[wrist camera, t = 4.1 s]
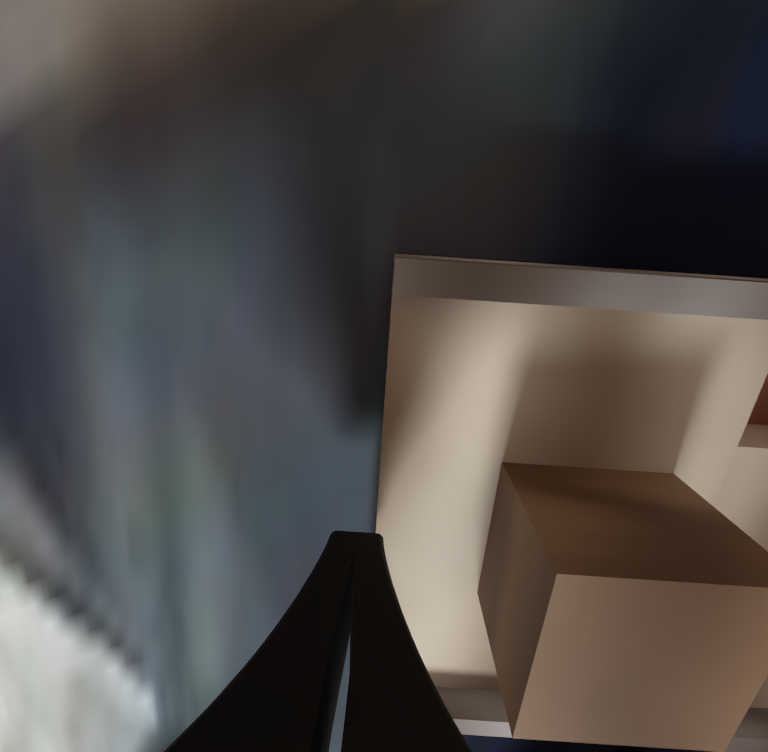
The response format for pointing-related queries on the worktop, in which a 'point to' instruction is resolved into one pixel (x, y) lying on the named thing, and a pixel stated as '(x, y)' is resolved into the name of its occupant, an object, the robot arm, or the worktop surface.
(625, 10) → the worktop surface
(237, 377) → the worktop surface
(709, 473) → the board
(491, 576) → the walnut block
